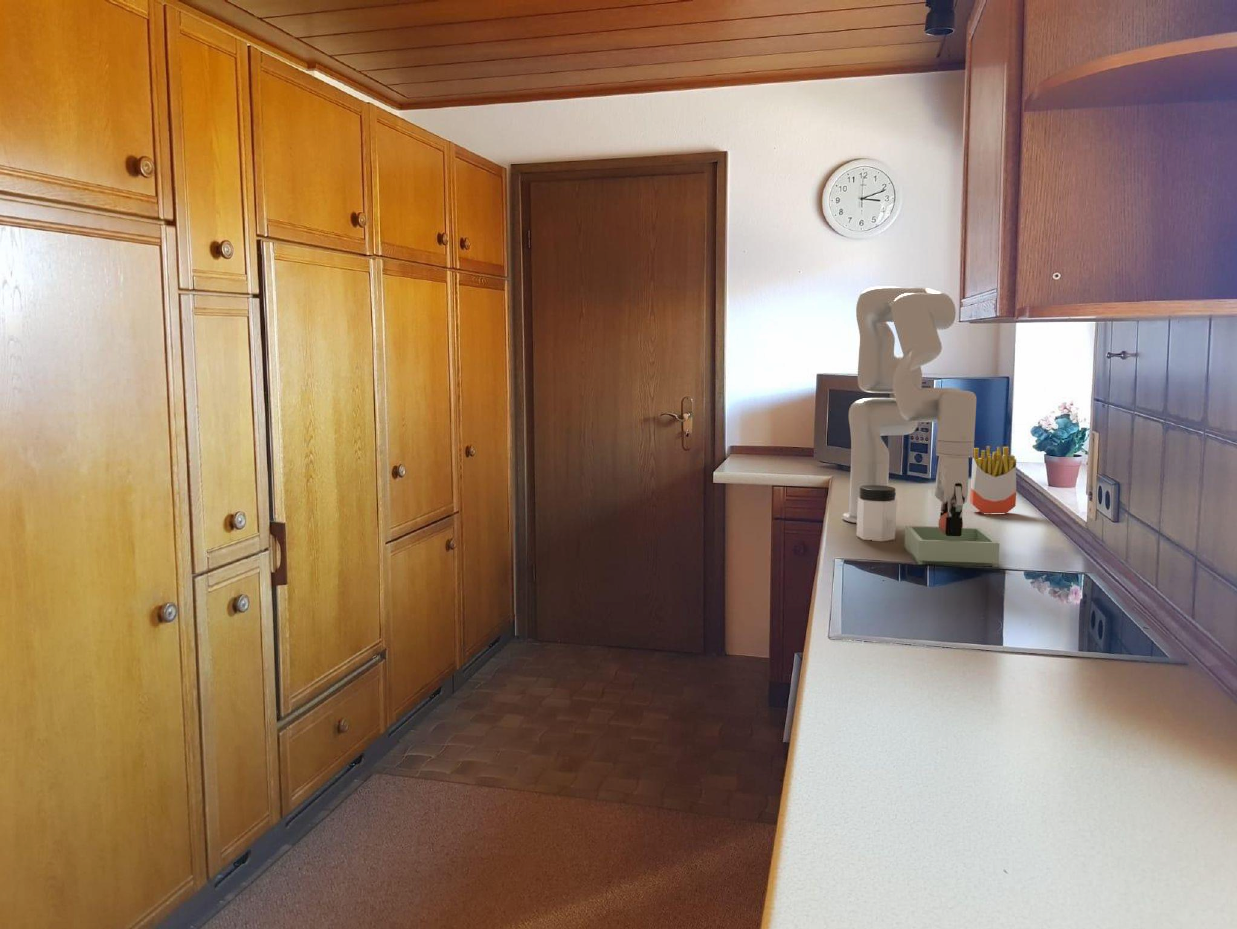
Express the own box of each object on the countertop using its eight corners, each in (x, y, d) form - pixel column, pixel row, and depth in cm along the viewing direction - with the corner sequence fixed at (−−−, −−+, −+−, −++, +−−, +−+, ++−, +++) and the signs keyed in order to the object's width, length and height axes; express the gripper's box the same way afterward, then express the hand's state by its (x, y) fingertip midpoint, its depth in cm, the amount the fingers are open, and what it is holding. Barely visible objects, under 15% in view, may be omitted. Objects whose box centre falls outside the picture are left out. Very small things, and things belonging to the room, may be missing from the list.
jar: (876, 543, 214) (878, 491, 212) (849, 536, 221) (851, 486, 219) (902, 538, 219) (904, 488, 217) (875, 532, 226) (877, 483, 224)
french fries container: (1015, 515, 249) (1019, 448, 247) (972, 513, 251) (976, 447, 249) (1011, 512, 254) (1015, 446, 251) (969, 510, 256) (973, 445, 253)
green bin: (904, 547, 209) (905, 525, 209) (978, 549, 207) (979, 527, 207) (917, 564, 194) (918, 540, 193) (997, 567, 192) (999, 543, 191)
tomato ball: (935, 532, 203) (936, 509, 202) (959, 533, 202) (960, 510, 201) (940, 537, 198) (941, 514, 197) (965, 538, 197) (966, 514, 196)
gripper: (928, 444, 206) (924, 525, 209) (945, 453, 189) (940, 541, 192) (963, 444, 205) (959, 526, 208) (983, 454, 189) (978, 542, 191)
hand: (950, 532), depth 200 cm, fingers closed on tomato ball, 4 cm apart
